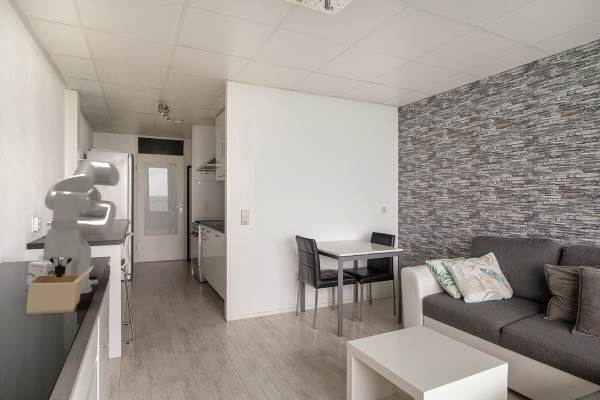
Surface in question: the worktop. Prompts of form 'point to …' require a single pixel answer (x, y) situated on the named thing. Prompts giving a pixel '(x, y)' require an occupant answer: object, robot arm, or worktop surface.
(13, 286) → the worktop surface
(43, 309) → the carton
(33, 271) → the ink box
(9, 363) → the worktop surface
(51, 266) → the flap
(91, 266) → the flap
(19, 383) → the worktop surface
